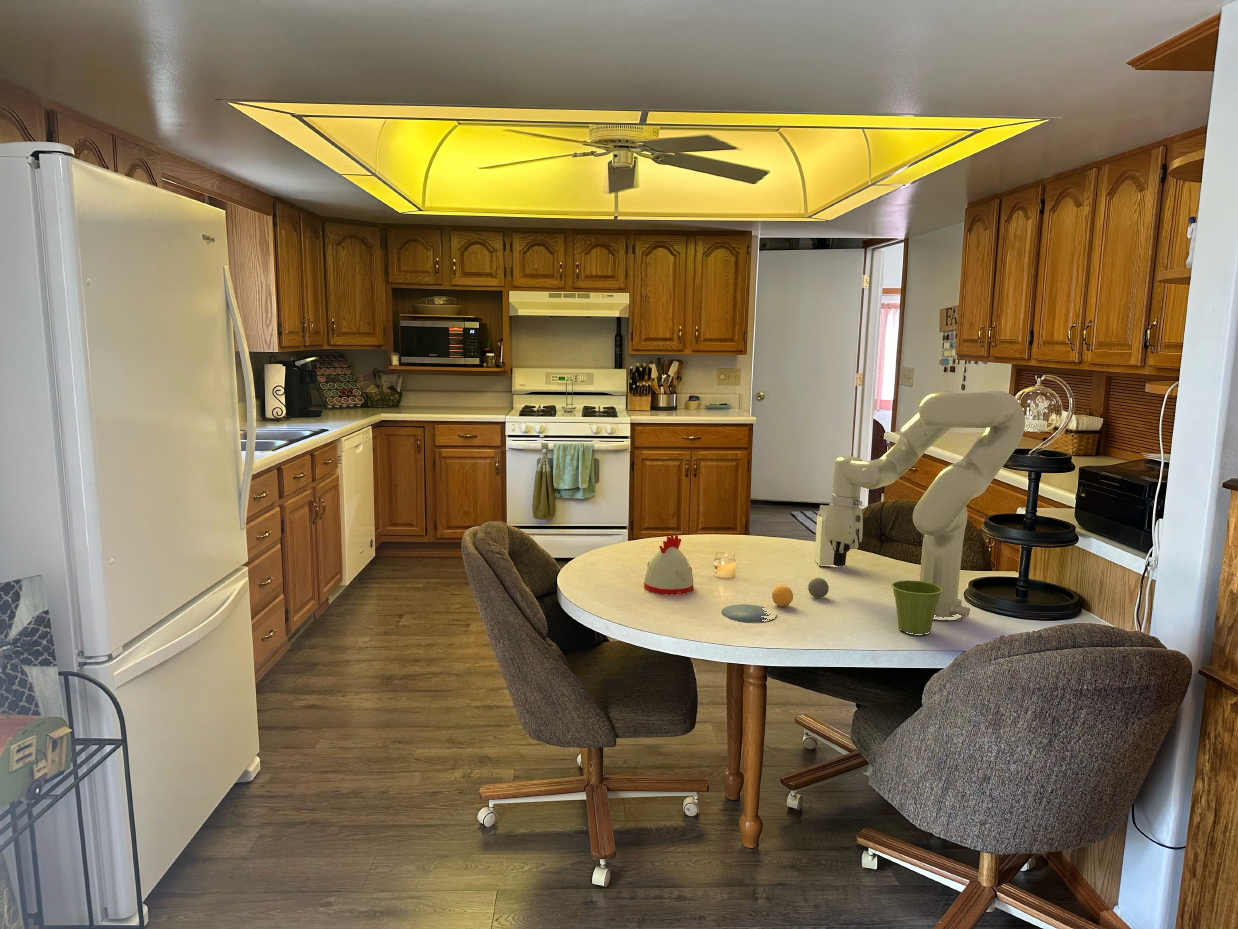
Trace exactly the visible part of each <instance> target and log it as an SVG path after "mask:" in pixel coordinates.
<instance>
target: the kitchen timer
mask: <svg viewBox="0 0 1238 929" xmlns="http://www.w3.org/2000/svg"><path fill="white" fill-rule="evenodd" d="M662 543H663V545H659V551H657V552H656V553H655V554H654V555H653V557H652V558H651V560H650V561H648V562H647V570H646V572H645V575H644V576H645V577H644V583H643V584H644V585H643V588H644V589H645V590H646V591H648V592H651V593H653V592H654V594H657V593H659V595H665V594H667V596H670V594H674V595H673V596H677V595H676V594H679V595H685V594H688V593H687V592H689V593H692V592H693V590H694V577H693V568H692V566H691V565H690V563H689V560H688V559H687V557H686V556H685V555H684V553H683V552H682V551H681V550H679V548H680V545H681V543H682V538H680V537H679V535H677V534H675V535H670V536H669V535H666V540H662ZM684 593H685V594H684Z"/></svg>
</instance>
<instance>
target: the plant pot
mask: <svg viewBox="0 0 1238 929" xmlns="http://www.w3.org/2000/svg"><path fill="white" fill-rule="evenodd" d="M890 586H891V587H892V589H893V596H894V599H895V607H896V616H897V625H898V626H897V627H898V630H899V629H901V630H902V631H901V632H903V631H905V632H908V633H913V634H924V635H926V634H925V633H928V632H930V633H931V629H932V625H933V621H934V620H933V618H934V613H935V609H936V605H937V602H938V600H939V596H940V593H942V592H943V588H942V587H940V586H938V585H936V584H932V583H928V582H923V581H920V580H896V581H893V582H891V584H890Z"/></svg>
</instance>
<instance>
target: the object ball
mask: <svg viewBox="0 0 1238 929" xmlns="http://www.w3.org/2000/svg"><path fill="white" fill-rule="evenodd" d="M771 599H772V601H773V603H774V604H775V605H776V606H778V607H782V606H784V607H787V606H789V605H790V604H791V603H792V602H793V599H794V593H793V591H792V589H791V588H790V587H789V586H786V585H783V584H782V585H778V586H776V587H775V588H774V589H773V590H772V592H771Z"/></svg>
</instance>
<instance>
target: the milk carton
mask: <svg viewBox="0 0 1238 929" xmlns="http://www.w3.org/2000/svg"><path fill="white" fill-rule="evenodd" d="M828 508H829V505H822V504H821V505H819V509H818V510H819V511H818V513H817V514H816V515H817V516H816V529H815V530H816V531H815V544H814V545H815V547H814V561H815V560H816V562H817V563H818V564H819V565H833V562H834V551H833V548H832V545H831V543H829V542H828V541H826V540H825V537H826V536H825V533H824V530H825V521H826V516H827V511H828ZM816 562H815V563H816ZM817 563H816V564H817Z"/></svg>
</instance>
